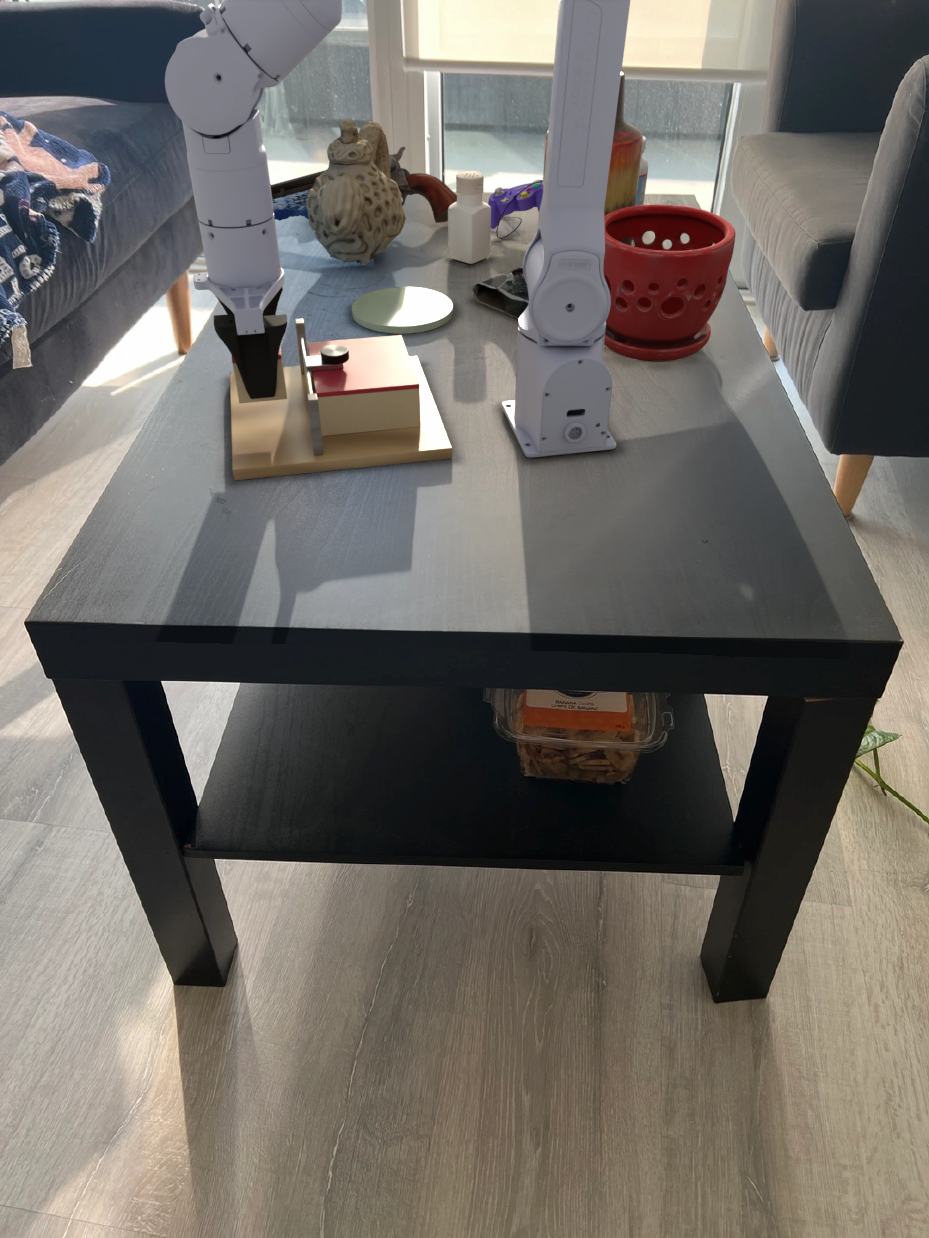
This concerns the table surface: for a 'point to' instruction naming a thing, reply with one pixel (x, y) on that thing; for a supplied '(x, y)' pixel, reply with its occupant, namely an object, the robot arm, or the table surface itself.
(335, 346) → the blade
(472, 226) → the pepper shaker
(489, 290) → the camera
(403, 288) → the plate
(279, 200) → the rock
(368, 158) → the teapot
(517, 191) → the game controller
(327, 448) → the board
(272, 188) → the revolver
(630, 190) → the vase
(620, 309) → the flower pot
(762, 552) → the table surface
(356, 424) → the red and beige block
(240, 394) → the cake slice
